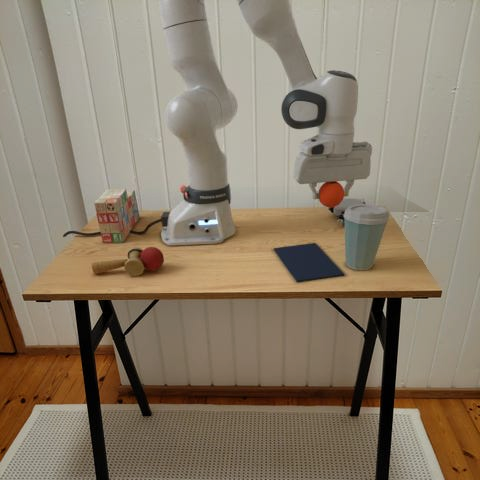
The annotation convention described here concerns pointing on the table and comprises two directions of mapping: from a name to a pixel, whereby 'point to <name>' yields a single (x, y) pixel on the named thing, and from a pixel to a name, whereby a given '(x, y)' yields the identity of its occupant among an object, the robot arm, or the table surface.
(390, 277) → the table surface
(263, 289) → the table surface
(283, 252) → the cloth
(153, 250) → the kendama
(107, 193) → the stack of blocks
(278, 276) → the table surface
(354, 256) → the disposable coffee cup
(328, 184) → the clementine
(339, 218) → the robot toy
